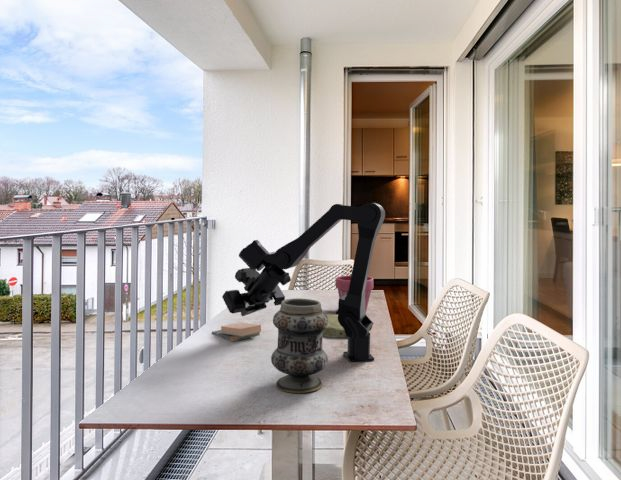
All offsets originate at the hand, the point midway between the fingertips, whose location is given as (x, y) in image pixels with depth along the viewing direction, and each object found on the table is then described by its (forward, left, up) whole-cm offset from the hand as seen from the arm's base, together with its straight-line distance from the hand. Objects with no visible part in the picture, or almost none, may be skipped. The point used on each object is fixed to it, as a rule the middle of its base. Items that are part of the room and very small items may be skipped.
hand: (242, 314), depth 129 cm
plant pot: (+27, -42, -7) cm, 51 cm away
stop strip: (-1, -1, -7) cm, 7 cm away
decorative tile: (+5, -28, -7) cm, 30 cm away
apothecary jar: (-38, -10, -7) cm, 40 cm away
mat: (+3, +2, -7) cm, 8 cm away
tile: (-4, -2, -4) cm, 6 cm away
